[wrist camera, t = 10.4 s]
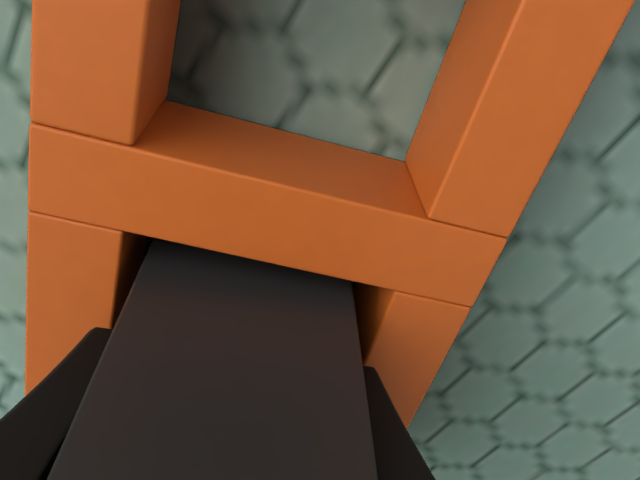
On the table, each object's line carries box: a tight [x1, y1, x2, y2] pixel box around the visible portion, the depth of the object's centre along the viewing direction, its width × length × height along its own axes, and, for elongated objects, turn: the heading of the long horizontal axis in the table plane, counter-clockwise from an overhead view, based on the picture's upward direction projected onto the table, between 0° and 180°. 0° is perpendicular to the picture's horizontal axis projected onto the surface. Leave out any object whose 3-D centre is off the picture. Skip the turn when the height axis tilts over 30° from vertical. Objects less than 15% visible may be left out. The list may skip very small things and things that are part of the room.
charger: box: [47, 238, 378, 480], centre depth 10 cm, size 4×4×7 cm
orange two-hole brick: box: [25, 0, 635, 429], centre depth 11 cm, size 15×8×3 cm, turn 164°
